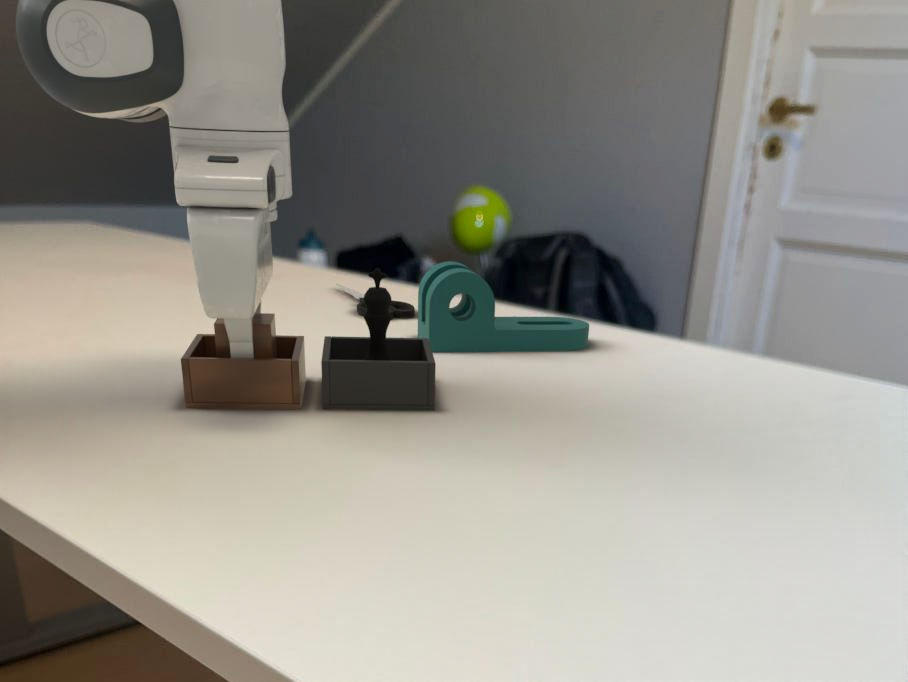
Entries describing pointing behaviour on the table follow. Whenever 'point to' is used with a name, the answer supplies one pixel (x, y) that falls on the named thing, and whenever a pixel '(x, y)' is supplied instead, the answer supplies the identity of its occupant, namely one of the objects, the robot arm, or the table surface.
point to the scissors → (393, 308)
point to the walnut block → (261, 333)
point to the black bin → (378, 375)
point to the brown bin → (244, 376)
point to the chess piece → (377, 317)
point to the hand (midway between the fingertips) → (247, 353)
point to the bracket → (485, 318)
